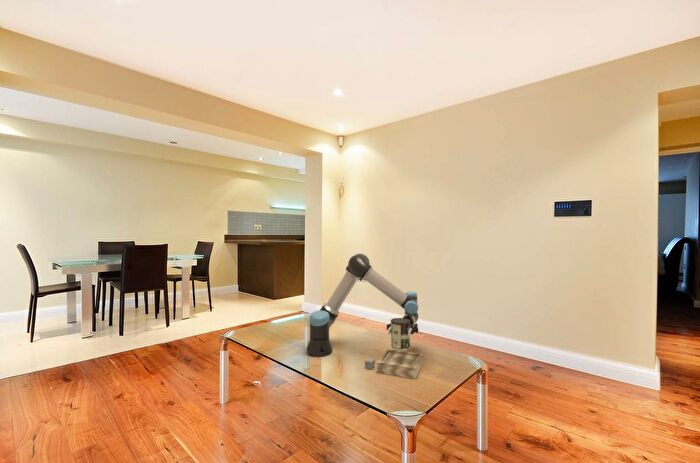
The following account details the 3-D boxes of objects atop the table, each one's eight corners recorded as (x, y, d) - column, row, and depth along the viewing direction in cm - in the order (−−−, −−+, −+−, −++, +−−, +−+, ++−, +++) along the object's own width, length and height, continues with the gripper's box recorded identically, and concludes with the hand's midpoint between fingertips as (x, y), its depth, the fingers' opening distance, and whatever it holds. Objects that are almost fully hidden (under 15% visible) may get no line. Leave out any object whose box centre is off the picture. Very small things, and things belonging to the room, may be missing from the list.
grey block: (365, 368, 166) (365, 361, 166) (367, 365, 170) (367, 358, 170) (372, 369, 165) (372, 362, 165) (374, 366, 168) (374, 359, 168)
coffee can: (410, 344, 171) (410, 318, 171) (410, 351, 161) (410, 323, 161) (391, 342, 173) (391, 317, 173) (390, 349, 163) (389, 322, 163)
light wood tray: (376, 372, 162) (376, 362, 162) (387, 357, 180) (387, 348, 180) (415, 379, 154) (415, 368, 154) (422, 363, 173) (422, 353, 173)
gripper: (427, 330, 180) (420, 343, 159) (389, 326, 188) (377, 337, 168) (427, 317, 180) (420, 328, 159) (388, 313, 188) (377, 323, 168)
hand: (398, 333), depth 163 cm, fingers closed on coffee can, 10 cm apart
